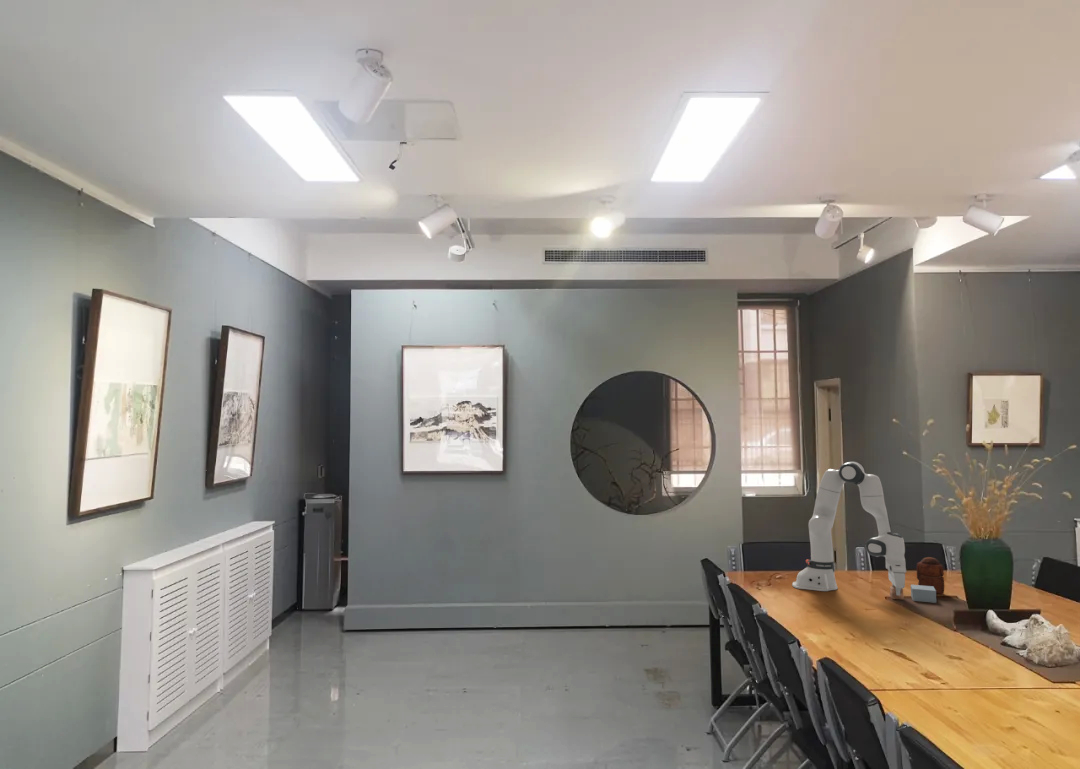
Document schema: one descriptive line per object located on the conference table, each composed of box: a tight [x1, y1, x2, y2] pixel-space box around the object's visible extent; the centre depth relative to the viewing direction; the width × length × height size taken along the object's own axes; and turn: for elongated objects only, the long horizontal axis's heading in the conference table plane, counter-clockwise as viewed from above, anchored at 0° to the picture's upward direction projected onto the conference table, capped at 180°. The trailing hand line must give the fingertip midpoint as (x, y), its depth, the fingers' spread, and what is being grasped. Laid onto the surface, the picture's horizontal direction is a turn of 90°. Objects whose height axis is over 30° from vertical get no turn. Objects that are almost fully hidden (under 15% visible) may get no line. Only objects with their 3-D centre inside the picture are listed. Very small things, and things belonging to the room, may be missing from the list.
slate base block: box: [910, 584, 937, 604], centre depth 327 cm, size 10×10×6 cm
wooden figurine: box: [916, 556, 945, 595], centre depth 341 cm, size 12×6×18 cm, turn 72°
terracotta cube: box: [889, 585, 904, 600], centre depth 330 cm, size 5×5×5 cm
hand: (896, 593), depth 330 cm, fingers closed on terracotta cube, 5 cm apart
